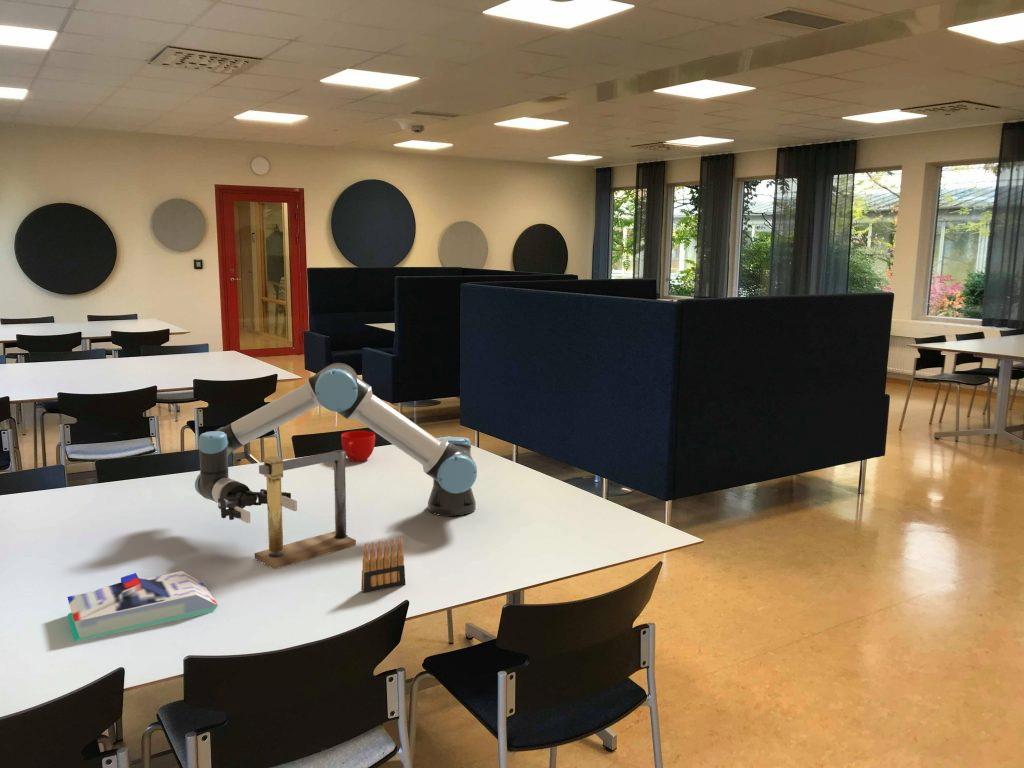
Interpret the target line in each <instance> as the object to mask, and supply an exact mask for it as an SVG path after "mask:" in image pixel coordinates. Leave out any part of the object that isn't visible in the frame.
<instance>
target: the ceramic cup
mask: <svg viewBox="0 0 1024 768" xmlns="http://www.w3.org/2000/svg"><path fill="white" fill-rule="evenodd" d="M375 433H376V432H374V431H368V430H353V431H352V430H351V431H347V432H343V433H341V435H340V437H341V438H340V439H341V447H342V450H344V451H346V458H348V459H349V460H350V462H366V461H368V459H369V458H370V457H371V456H372V454H373V451H374V449H375V444H376V434H375ZM365 460H366V461H365Z"/></svg>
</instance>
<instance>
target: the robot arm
mask: <svg viewBox="0 0 1024 768" xmlns="http://www.w3.org/2000/svg"><path fill="white" fill-rule="evenodd" d="M319 406H320V407H323V408H324V409H326V410H328V411H331V412H334V413H335V412H336V413H337V414H339V415H340V416H341V417H343V418H345V419H346V420H353V419H355V420H357V421H359V422H360V424H363V425H364V426H366V427H367V428H368V429H370V430H372V432H373V433H376V434H377V435H379V436H380V437H382V438H383V439H384V440H386V441H388V442H389V443H391V444H392V445H393V446H395V447H396V448H397V449H399V450H401V451H402V452H403V453H405V454H406V455H408V456H410V457H411V458H412V459H413V460H415V461H416V462H418V463H419V464H420V465H422V469H423V473H425V474H426V475H428V476H429V477H430V478H432V479H433V482H432V483H433V484H432V485H433V486H432V489H431V492H430V494H429V498H428V500H427V511H428V512H430V513H431V512H432V513H431V514H434V513H435V514H434V515H437V514H439V515H438V516H443V515H450V516H449V517H457V516H456V515H460V516H465V515H464V514H466V515H469V514H471V513H470V512H472V513H474V512H475V511H476V505H477V504H476V499H475V495H474V493H473V489H472V487H473V486H474V484H475V482H476V480H477V476H478V470H477V467H478V466H477V464H476V462H475V461H474V458H473V456H472V453H471V448H472V444H471V439H470V438H468V437H464V436H463V437H462V436H461V437H460V436H444V437H438V438H436V437H435V436H434V435H432V434H431V433H429V432H428V431H426V430H425V429H423V428H422V427H420V426H419V425H417V423H415V422H414V421H412V420H410V419H409V418H407V416H405V415H404V414H402V413H401V412H399V411H397V410H396V409H394V407H392V406H390V405H389V404H388V403H386V402H385V401H383V400H381V398H379V397H378V396H377V395H375V394H373V389H372V386H371V385H370V384H368V383H367V382H365V380H363V379H361V378H360V377H358V374H357V373H356V371H355V369H354V368H352V367H351V366H350V365H348V364H346V363H341V362H335V363H331V364H329V365H327V366H326V367H324V368H323V369H321V370H320V371H319V372H317V373H316V374H314V375H312V376H310V377H308V378H307V379H306V382H305V383H304V384H302V385H301V386H298V387H297V388H295V389H293V390H292V391H289V392H287V393H285V394H283V395H282V396H280V397H278V398H276V399H274V400H272V401H271V402H269V403H267V404H265V405H263V406H261V407H260V408H257V409H255V410H254V411H252V412H250V413H248V414H246V415H244V416H242V417H240V418H239V419H237V420H235V421H233V422H231V423H229V424H227V425H226V426H222V427H219V428H218V429H215V430H214V431H212V430H211V431H206V432H203V433H201V434H200V435H199V437H198V438H199V439H198V449H199V450H198V451H199V453H198V454H199V467H200V468H199V469H200V470H199V471H200V473H199V474H198V475H197V477H196V479H195V481H194V489H195V491H196V492H197V494H199V495H200V496H202V497H203V498H204V499H206V500H209V501H212V502H215V503H216V504H217V508H218V509H219V510H220V517H221V519H226V518H227V516H228V518H229V519H228V520H229V521H233V520H235V519H239V520H240V521H242V522H245V523H246V524H249V523H251V512H250V511H248V510H246V509H244V508H245V507H251V506H252V507H253V506H261V505H267V489H264V488H261V489H260V491H253V490H251V489H250V488H249V487H248V486H247V484H245V483H242V482H240V481H238V480H235V479H232V478H230V477H229V456H230V455H231V453H232V452H234V451H237V450H238V449H239V448H242V447H243V446H245V445H247V444H249V443H250V442H252V441H254V440H255V439H258V438H260V437H261V436H264V435H266V434H267V433H269V432H271V431H273V430H275V429H277V428H279V427H280V426H281V427H282V425H285V424H287V423H288V422H290V421H292V420H294V419H295V418H298V417H300V416H302V415H303V414H305V413H307V412H308V411H311V410H313V409H314V408H316V407H319ZM281 493H282V508H285V509H288V510H290V511H293V512H298V500H296V499H293V498H292V493H291V492H286V491H281ZM474 510H475V511H474ZM468 513H469V514H468ZM453 515H455V516H453Z"/></svg>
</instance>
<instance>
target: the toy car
mask: <svg viewBox="0 0 1024 768" xmlns="http://www.w3.org/2000/svg"><path fill="white" fill-rule="evenodd" d="M66 598H67V601H68V605H69V609H70V611H71V612H69V613H67V614H68V615H67V619H68V618H69V619H68V622H69V626H70V630H71V632H72V637H73V641H74V643H77V642H81V641H87V640H91V639H94V638H101V637H104V636H109V635H113V634H118V633H122V632H127V631H132V630H136V629H142V628H146V627H150V626H155V625H160V624H165V623H169V622H174V621H179V620H183V619H188V618H193V617H197V616H198V617H199V616H202V615H207V614H212V613H213V612H214V611H215V610H216V608H217V607H219V604H218V603H217V601H216V600H215V598H214V597H213V596H212V594H211V592H210V591H209V590H208V588H207V587H206V585H205V584H204V583H203V582H201V581H200V580H198V579H197V578H195V577H194V576H192V575H189V574H188V573H186V572H185V571H183V570H180V571H175V572H171V573H167V574H163V575H159V576H153V577H150V578H139V576H138V574H137V573H136V572H134V573H131V574H128V575H125V576H122V577H120V582H117V583H115V584H112V585H108V586H105V587H101V588H98V589H94V590H92V591H87V592H83V593H79V594H75V595H69V596H67V597H66Z"/></svg>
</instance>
